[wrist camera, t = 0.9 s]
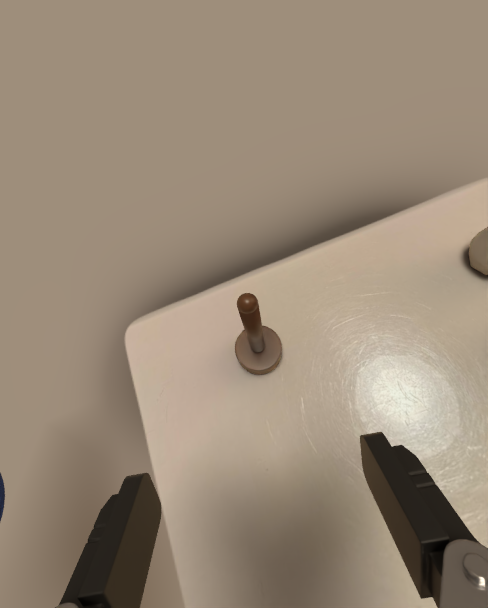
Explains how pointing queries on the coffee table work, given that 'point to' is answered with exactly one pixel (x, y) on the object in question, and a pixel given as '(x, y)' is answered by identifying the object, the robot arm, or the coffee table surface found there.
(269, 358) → the wooden tamper
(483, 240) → the salt shaker
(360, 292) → the coffee table surface
